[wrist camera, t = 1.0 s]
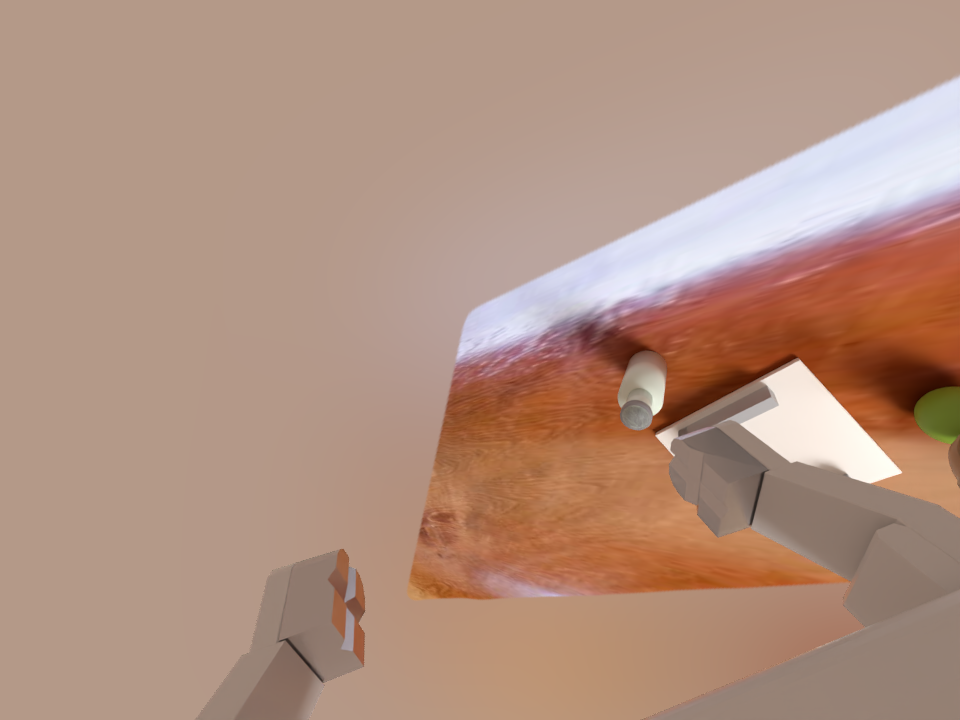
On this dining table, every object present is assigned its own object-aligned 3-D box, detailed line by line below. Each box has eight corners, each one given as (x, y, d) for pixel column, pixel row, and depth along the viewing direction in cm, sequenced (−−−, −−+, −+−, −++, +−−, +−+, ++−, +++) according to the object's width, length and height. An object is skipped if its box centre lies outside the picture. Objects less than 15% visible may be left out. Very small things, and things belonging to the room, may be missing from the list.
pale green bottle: (650, 343, 50) (639, 387, 39) (675, 371, 50) (671, 423, 39) (620, 363, 52) (602, 410, 42) (644, 390, 52) (632, 444, 42)
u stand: (798, 357, 44) (806, 371, 40) (899, 468, 43) (915, 490, 40) (655, 432, 54) (653, 448, 51) (736, 522, 53) (739, 544, 50)
